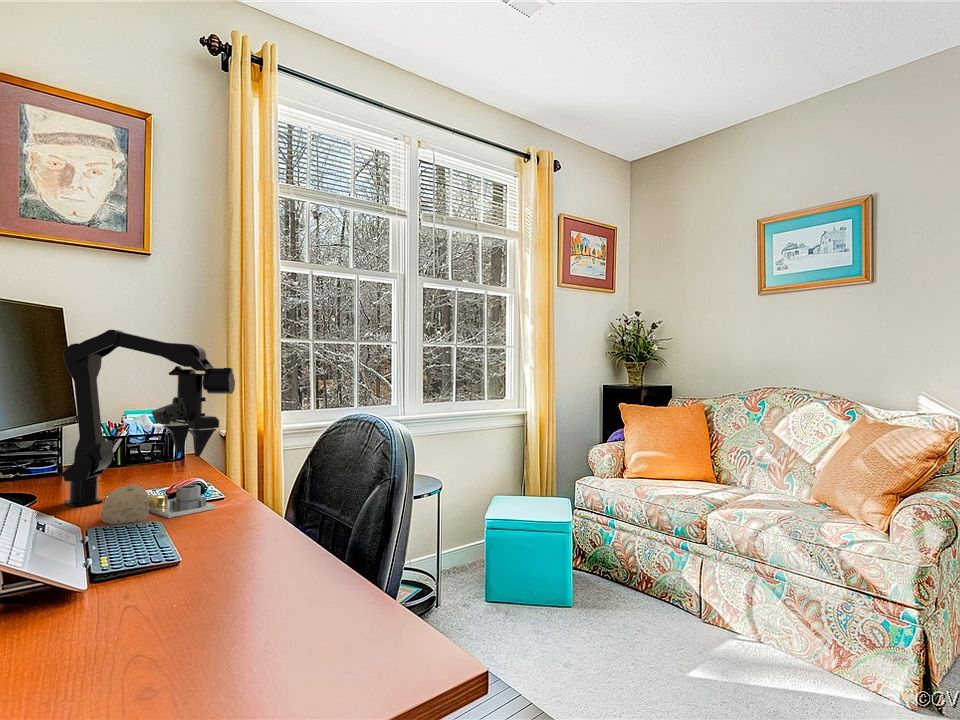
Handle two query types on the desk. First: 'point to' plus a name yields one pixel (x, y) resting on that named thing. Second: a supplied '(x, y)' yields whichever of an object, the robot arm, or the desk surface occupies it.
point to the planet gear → (188, 497)
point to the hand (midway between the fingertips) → (188, 454)
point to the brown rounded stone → (126, 505)
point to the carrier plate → (162, 507)
